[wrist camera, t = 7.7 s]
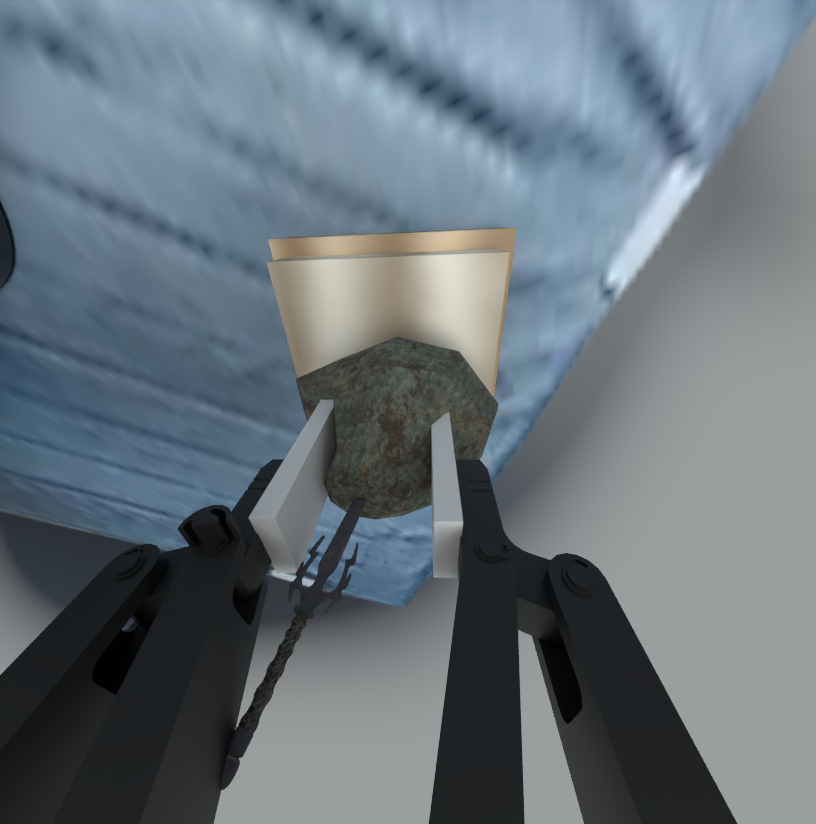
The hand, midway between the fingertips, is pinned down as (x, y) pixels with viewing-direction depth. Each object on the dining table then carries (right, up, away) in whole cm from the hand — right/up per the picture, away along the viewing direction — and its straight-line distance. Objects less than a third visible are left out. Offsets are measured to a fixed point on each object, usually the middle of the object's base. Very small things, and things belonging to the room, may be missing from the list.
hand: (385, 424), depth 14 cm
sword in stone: (+1, +1, +1) cm, 2 cm away
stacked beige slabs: (0, +7, +10) cm, 12 cm away
